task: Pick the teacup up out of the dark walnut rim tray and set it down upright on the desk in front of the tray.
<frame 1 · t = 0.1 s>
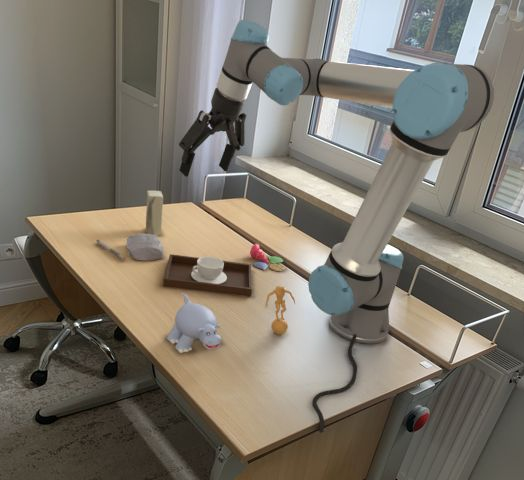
hand: (203, 170, 143), 28 cm above the table, tool tilted 20°, fingers open, 13 cm apart
hippopotamus toy: (196, 344, 126), on the table
stone block: (143, 252, 161), on the table
toy pieces: (266, 263, 168), on the table
figurine: (276, 331, 135), on the table
tray: (208, 278, 153), on the table
pen: (109, 252, 158), on the table
box: (153, 233, 174), on the table
teacup: (208, 278, 153), resting on tray
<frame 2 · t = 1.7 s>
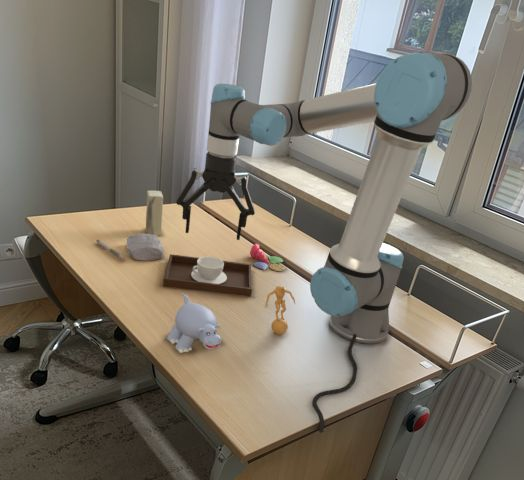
hand: (212, 234, 146), 13 cm above the table, tool pointing down, fingers open, 13 cm apart
nothing on the table moved.
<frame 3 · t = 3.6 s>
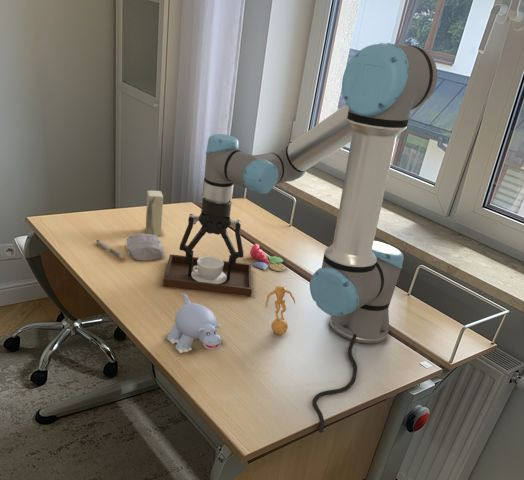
hand: (209, 276, 153), 1 cm above the table, tool pointing down, fingers closed on teacup, 10 cm apart
teacup: (208, 278, 153), resting on tray, touching gripper
everything else where it was.
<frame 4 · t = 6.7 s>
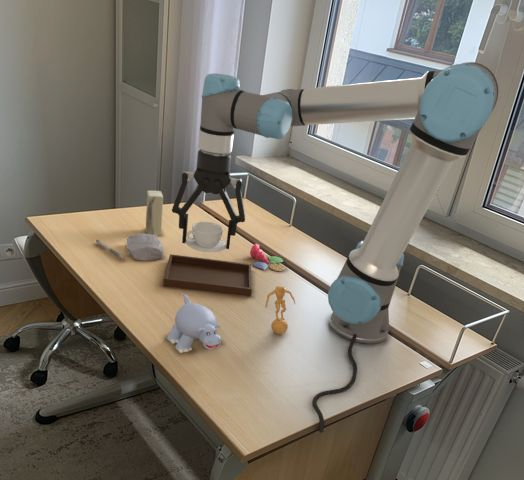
hand: (206, 244, 134), 16 cm above the table, tool pointing down, fingers closed on teacup, 10 cm apart
teacup: (205, 246, 135), point 15 cm above the table, touching gripper
everything else where it was.
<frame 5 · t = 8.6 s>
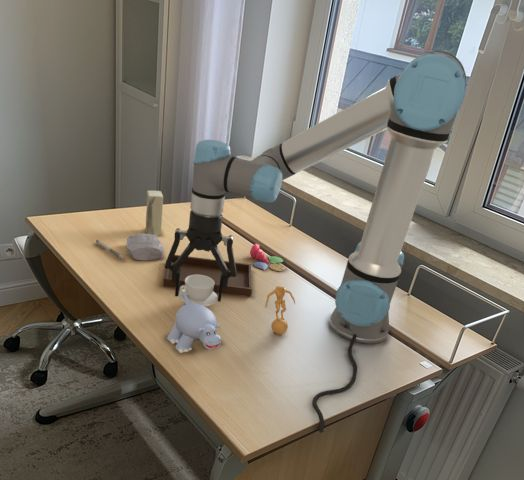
hand: (198, 296, 138), 3 cm above the table, tool pointing down, fingers closed on teacup, 10 cm apart
teacup: (197, 298, 138), point 2 cm above the table, touching gripper
everything else where it was.
when the fingers open (0 cm above the table, at t = 10.0 s): teacup stays where it is, on the table.
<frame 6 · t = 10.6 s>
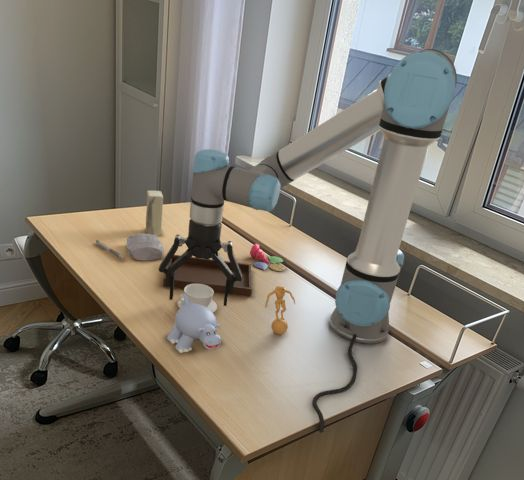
hand: (198, 300, 138), 2 cm above the table, tool pointing down, fingers open, 13 cm apart
teacup: (197, 307, 140), on the table
everything else where it was.
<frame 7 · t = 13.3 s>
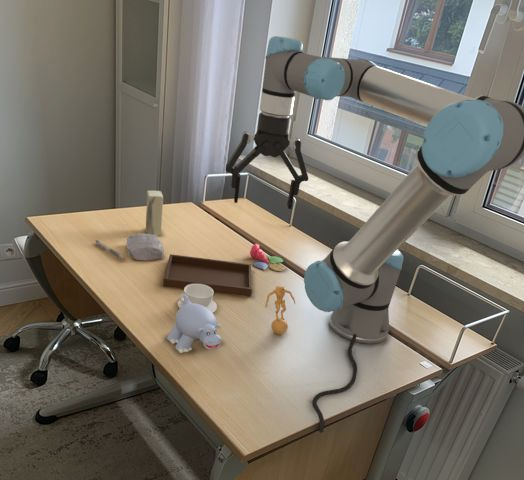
hand: (262, 204, 137), 25 cm above the table, tool pointing down, fingers open, 13 cm apart
nothing on the table moved.
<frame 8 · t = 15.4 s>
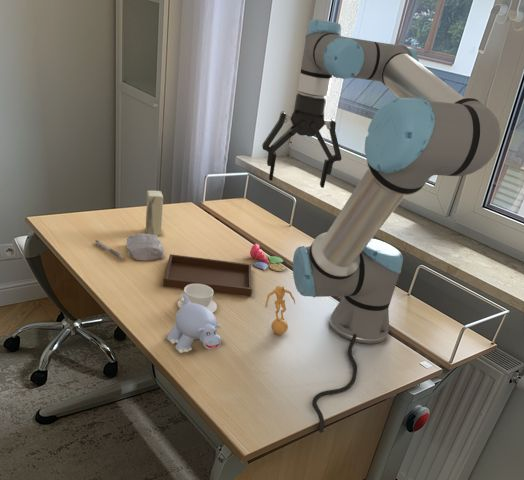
hand: (296, 182, 143), 29 cm above the table, tool pointing down, fingers open, 13 cm apart
nothing on the table moved.
at the end: teacup inside the target area (0.1 cm from its centre), on the table; teacup tilted 0°; teacup touching table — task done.
